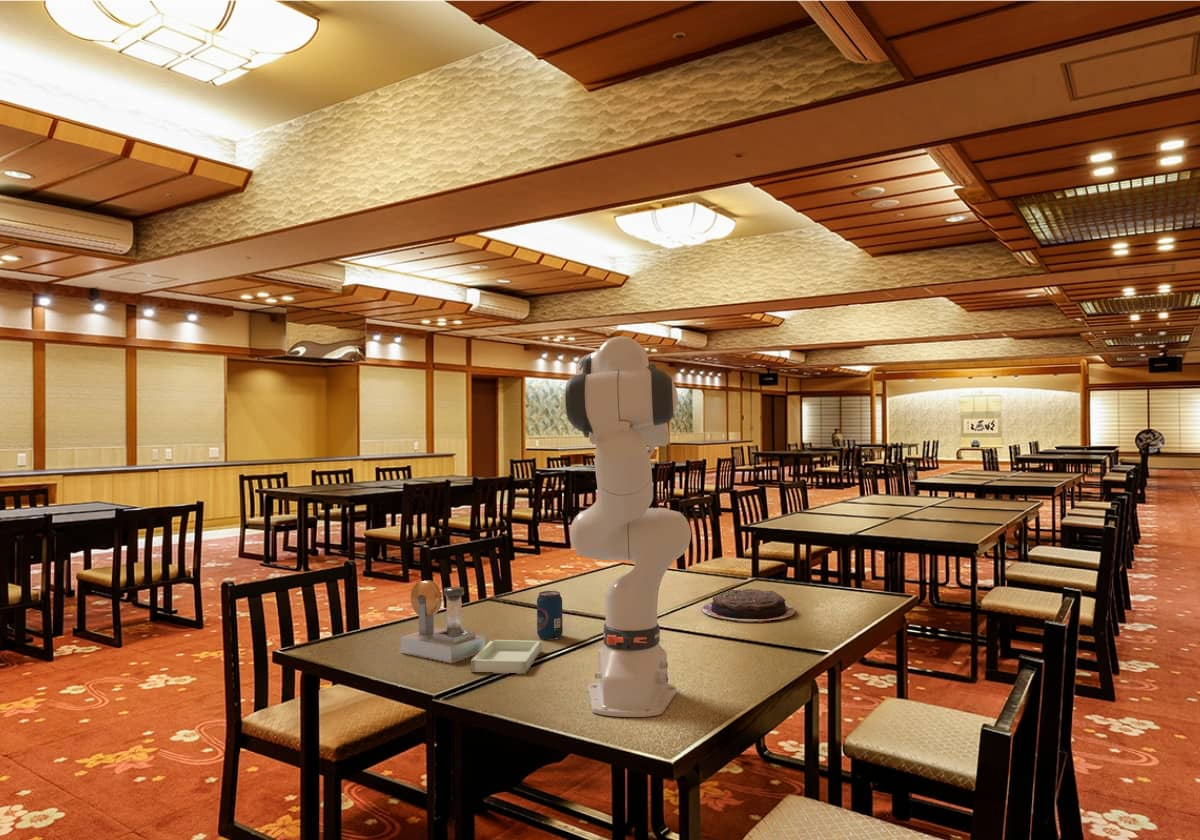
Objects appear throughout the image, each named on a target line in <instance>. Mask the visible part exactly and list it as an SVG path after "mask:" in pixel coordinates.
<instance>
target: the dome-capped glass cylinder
mask: <svg viewBox="0 0 1200 840" xmlns="http://www.w3.org/2000/svg"><path fill="white" fill-rule="evenodd" d="M464 595H465V589H464V587H462V586H450V587H444V588H443V597H445V598H446V629H447V635H449V636H457V635H461V629H462V596H464Z"/></svg>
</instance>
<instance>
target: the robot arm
mask: <svg viewBox="0 0 1200 840" xmlns="http://www.w3.org/2000/svg"><path fill="white" fill-rule="evenodd" d="M656 367H657V366H656V364H655V363H650V361H649V358H648V354H647V350H646V347H644V346H642V345H641V344H640V343H639V342H638V341H637V340H635V339H633V338H631V337H628V336H624V335H623V336H622V335H620V336H619V335H618V336H614V337H611V338H608V339H607V340H605V341H604V342H603V343H602V344H601V345H600V347H599V348H598V350H595V351H593V352H591V353H588V354H585V355H584V356H582V357H581V358H580V359H579V360H578V363H577V366H576V368H575V375H574V376H570V377H569V379H568V380H567V382H566V383H565V388H564V390H563V395H562V407H563V409H564V413H565V415H566V417H567V420H568V422H569V424H571V425H572V426H573V427H574V428H575V429H577V430H578V431H580V432H582V434H583V436H584V437H585V438H587V439H589V442H590V443H591V444H592V445H595V456H594V457H595V458H594V459H595V460H594V466H595V479H596V486H597V497H596V498H597V499H596V500H595V502H594V503H593V504H592V505H590V506H589V507H588V508H586V509H585V510H582V511H580V512H579V513H578V514H577V515H576V516H575V517H574V519H573V520H572V522H571V525H570V531H569V538H570V543H571V545H572V547H573V549H574V551H575V552H576V554H578V556H580V557H584V558H589V559H594V560H600V561H603V560H604V561H605V560H606V561H632V562H633V563H634V566H633V568H632V569H631V570H630V571H629V572H626V573H625V574H623V575H621V576H619V577H617V578H615V579H613V580H612V581H611V582H610V583H609V584H608V586H607V587H606V589H605V592H604V593H605V596H604V597H605V599H604V600H605V606H604V607H605V623H604V624H603V630H602V632H603V633H602V635H603V645H602V647H600V648H599V649H598V651H597V663H598V664H597V665H598V666H597V667H598V668H597V669H598V671H596V672H595V680H598V681H597V682H592V683H590V684H588V696H589V700H590V702H589V703H590V707H591V711H592V713H594V714H598V715H601V716H609V717H617V718H619V717H623V718H646V717H647V718H648V717H654V716H655V717H656V716H659V715H662V714H664V712H665V710H666V708H667V707H668V706H669V704H670V703H671V702H672V700H673V698H674V697H675V696H676V694H677V693H678V688H677V686H676V685H674V684H670V683H669V676H668V674H669V673H668V667H669V665H668V653H667V651H666V650H665V649H664V648H663V647H662V646H661V644H660V641H661V640H660V639H661V637H660V636H661V629H660V624H659V623H658V602H659V601H658V599H659V590H660V586H661V582H662V581H663V580H662V579H663V578H664V575H665V573H666V572H667V571H668V569H669V568H670V567H671V565H672V564H673V563H674V562H676V561H677V559H679V558H681V556H683V555H685V554H684V553H686V551H687V550H688V548H689V546H690V543H691V539H692V538H691V537H692V531H691V526H690V523H689V521H688V519H687V518H686V517H685V515H684V514H683V513H681V511H678V510H677V511H676V510H672V509H666V508H662V507H652V508H651V507H650V506H651V504H652V502H653V500H654V486H653V485H654V484H653V472H652V463H651V462H652V461H651V458H652V455H653V454H654V452H655V450H656V447H666V446H668V445H669V443H670V435H669V425H668V423H669V422H671V420H672V419H673V418H674V414H675V412H676V409H677V407H678V402H679V401H678V400H679V399H678V397H679V396H678V391H677V387H676V384H675V383H674V381H673V378H672V377H671V375H669V374H668V373H667V372H666V371H664V370H662V369H659V368H656Z"/></svg>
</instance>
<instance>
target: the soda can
mask: <svg viewBox="0 0 1200 840" xmlns="http://www.w3.org/2000/svg"><path fill="white" fill-rule="evenodd" d="M563 625H564V623H563V598H562V596H561V593H560V592H559V591H557V590H545V591H540V592H538V596H537V598H536V633H537V634H536V635H537V636H538V637H539V639H540V638H542V639H541V640H543V639H555V640H557V639H556V638H559V639H561V636H562V635H563V631H564V630H563V628H564V627H563Z"/></svg>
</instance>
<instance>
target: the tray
mask: <svg viewBox="0 0 1200 840" xmlns="http://www.w3.org/2000/svg"><path fill="white" fill-rule="evenodd" d="M541 653H542V640H526V639H525V640H524V639H522V640H520V639H519V640H518V639H491V640H490V641H489V642H488V643H486V644H485V647H484V648H483V649H482V650H481V651H480V652H479V653H478V654H477V655H475V656H473V657H472V659H471V660H470V673H471V672H493V673H492V674H509V673H517V674H519V675H526V674H527V673H528V672H529V670H530V669H531V667H532V666H533V664H534V663H535V662H536V660H537V659H538V658H539V656H540V655H541ZM539 654H540V655H539ZM538 655H539V656H538ZM536 658H537V659H536ZM535 659H536V660H535ZM534 661H535V662H534ZM533 662H534V663H533ZM532 663H533V664H532ZM531 665H532V666H531ZM529 668H530V669H529ZM527 671H528V672H527ZM526 672H527V673H526ZM517 674H516V675H517Z"/></svg>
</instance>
